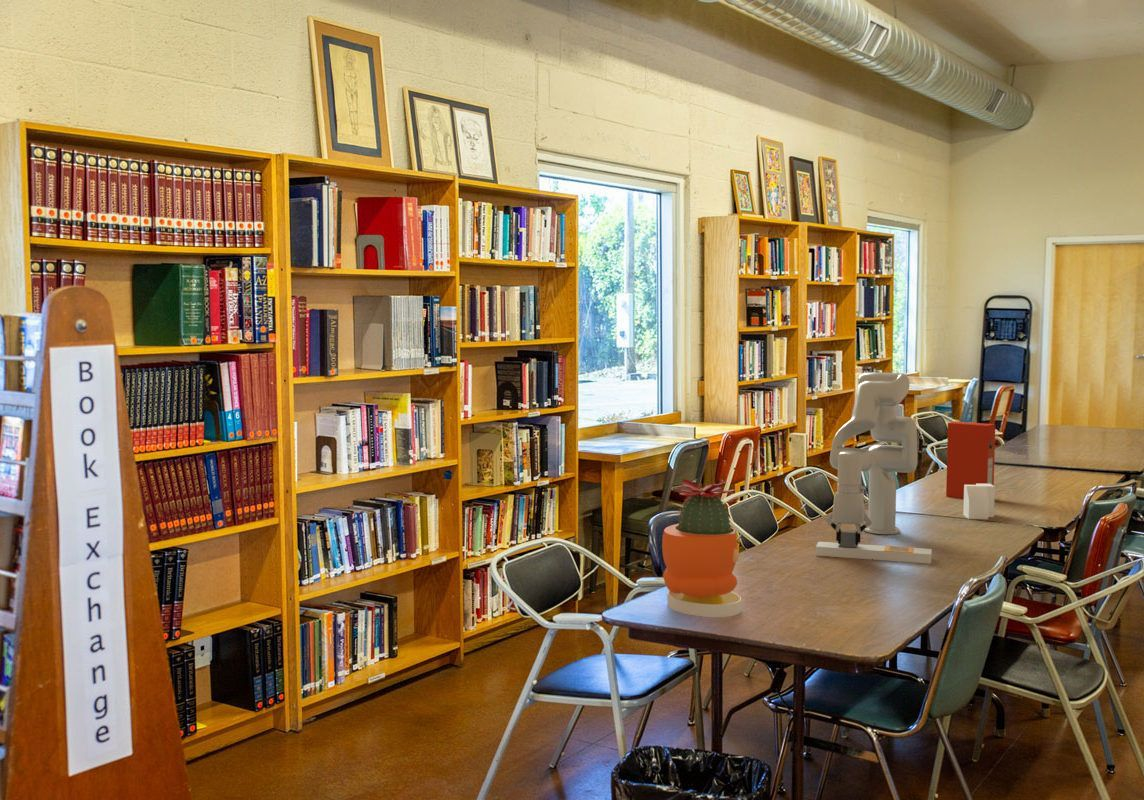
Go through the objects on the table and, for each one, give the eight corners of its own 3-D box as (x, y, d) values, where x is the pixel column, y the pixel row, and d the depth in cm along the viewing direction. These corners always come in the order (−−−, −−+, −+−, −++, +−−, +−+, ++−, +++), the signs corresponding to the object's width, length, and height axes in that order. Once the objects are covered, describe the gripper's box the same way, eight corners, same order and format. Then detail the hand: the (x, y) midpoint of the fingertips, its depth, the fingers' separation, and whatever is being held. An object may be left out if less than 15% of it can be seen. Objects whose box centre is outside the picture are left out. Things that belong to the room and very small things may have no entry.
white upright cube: (989, 513, 428) (990, 483, 427) (997, 519, 417) (998, 488, 416) (961, 513, 430) (962, 483, 429) (968, 518, 418) (969, 487, 417)
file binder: (985, 501, 455) (987, 425, 452) (945, 496, 467) (947, 422, 464) (993, 499, 461) (995, 424, 458) (953, 494, 473) (955, 421, 470)
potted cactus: (690, 594, 309) (691, 472, 306) (756, 608, 294) (758, 480, 291) (641, 609, 294) (642, 480, 291) (708, 625, 278) (709, 490, 275)
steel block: (841, 553, 360) (842, 529, 359) (855, 554, 359) (855, 530, 358) (840, 556, 356) (840, 532, 355) (854, 557, 355) (854, 532, 354)
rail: (818, 550, 364) (818, 540, 364) (931, 558, 353) (931, 548, 352) (815, 555, 357) (815, 545, 357) (931, 563, 345) (931, 553, 345)
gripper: (876, 488, 356) (875, 543, 358) (824, 485, 362) (823, 539, 363) (875, 492, 349) (874, 548, 351) (821, 489, 355) (820, 544, 356)
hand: (848, 543), depth 357 cm, fingers open, 4 cm apart
